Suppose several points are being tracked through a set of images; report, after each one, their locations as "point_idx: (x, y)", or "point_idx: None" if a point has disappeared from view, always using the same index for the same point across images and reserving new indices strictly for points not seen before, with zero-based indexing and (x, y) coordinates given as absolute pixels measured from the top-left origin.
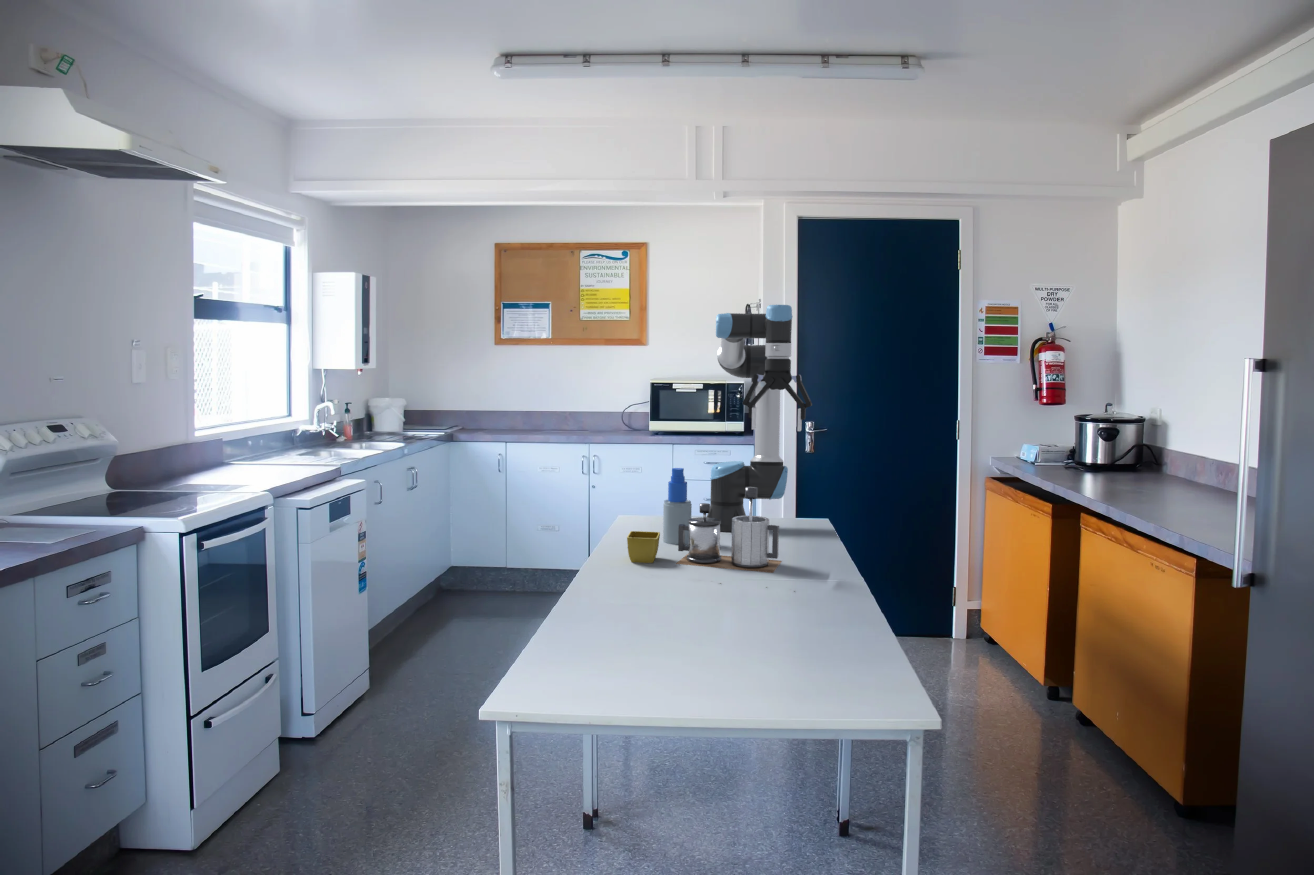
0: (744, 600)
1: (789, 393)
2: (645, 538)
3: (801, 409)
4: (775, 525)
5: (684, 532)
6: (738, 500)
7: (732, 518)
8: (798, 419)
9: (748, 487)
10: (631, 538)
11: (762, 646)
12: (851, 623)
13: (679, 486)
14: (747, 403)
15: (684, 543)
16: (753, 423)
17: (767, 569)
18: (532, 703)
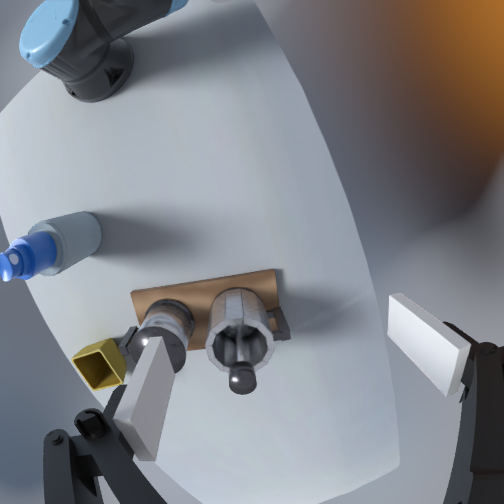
0: (279, 410)
1: (448, 489)
2: (111, 386)
3: (461, 378)
4: (284, 332)
5: (129, 341)
6: (101, 54)
7: (208, 357)
8: (418, 363)
9: (236, 385)
10: (98, 389)
11: (321, 463)
12: (376, 406)
13: (35, 273)
14: (95, 469)
15: (134, 332)
16: (167, 395)
17: (270, 325)
18: None
